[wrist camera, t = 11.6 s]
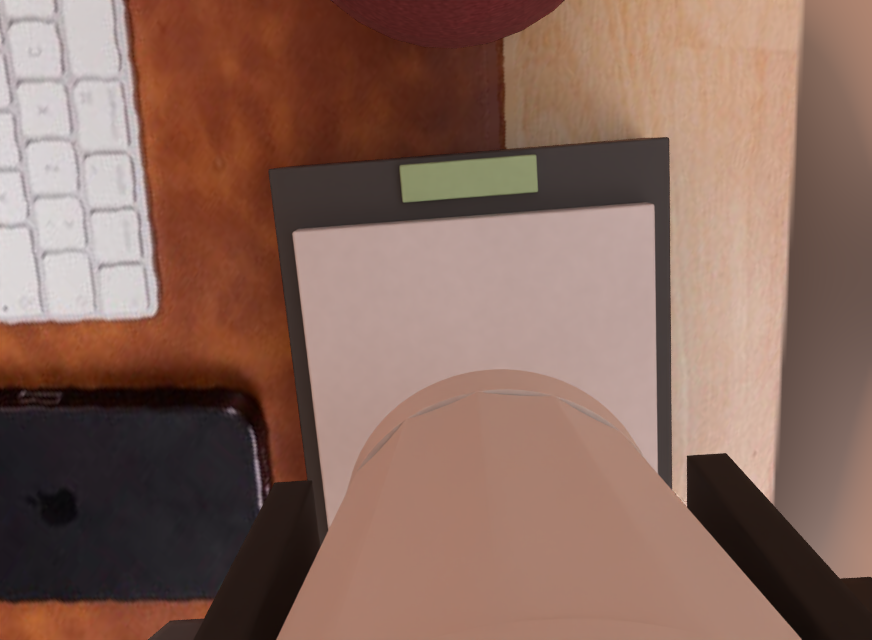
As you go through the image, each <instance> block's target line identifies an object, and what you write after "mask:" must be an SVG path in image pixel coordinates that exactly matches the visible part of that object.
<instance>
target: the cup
mask: <svg viewBox="0 0 872 640" xmlns="http://www.w3.org/2000/svg"><path fill="white" fill-rule="evenodd" d="M276 640H802V639H801V638H800V637H799V636H798V634H797V633H796V632H795V631H794V630H793V629H792V628H791V626H790V625H789V624H788V623H787V622H786V621H785V620H784V618H783V617H782V616H781V615H780V614H779V613H778V611H777V610H776V609H775V608H774V607H773V606H772V605H771V603H770V602H769V601H768V600H767V599H766V598H765V597H764V595H763V594H762V593H761V592H760V591H759V590H758V589H757V587H756V586H755V585H754V584H753V583H752V582H751V580H750V579H749V578H748V577H747V576H746V575H745V574H744V572H743V571H742V570H741V569H740V568H739V567H738V566H737V564H736V563H735V562H734V561H733V560H732V559H731V557H730V556H729V555H728V554H727V553H726V552H725V551H724V549H723V548H722V547H721V546H720V545H719V544H718V543H717V541H716V540H715V539H714V538H713V537H712V536H711V534H710V533H709V532H708V531H707V530H706V529H705V528H704V526H703V525H702V524H701V523H700V522H699V521H698V520H697V518H696V517H695V516H694V515H693V514H692V513H691V511H690V510H689V509H688V508H687V507H686V506H685V505H684V503H683V502H682V501H681V500H680V499H679V498H678V497H677V495H676V494H675V493H674V492H673V491H672V490H671V489H670V487H669V486H668V485H667V484H666V483H665V482H664V480H663V479H662V478H661V477H660V476H659V475H658V474H657V472H656V471H655V470H654V469H653V468H652V467H651V466H650V464H649V463H648V462H647V460H646V459H645V457H644V456H643V454H642V453H641V451H640V449H639V448H638V446H637V445H636V443H635V441H634V440H633V438H632V437H631V435H630V434H629V432H628V431H627V430H626V428H625V427H624V426H623V425H622V423H621V422H620V421H619V420H618V419H617V418H616V417H615V416H614V415H613V414H612V413H611V412H610V411H609V410H608V409H607V408H606V407H605V406H604V405H602V404H601V403H600V402H599V401H597V400H596V399H595V398H593V397H592V396H590V395H589V394H587V393H585V392H584V391H582V390H580V389H578V388H577V387H575V386H573V385H571V384H568V383H566V382H564V381H561V380H559V379H556V378H553V377H550V376H546V375H543V374H539V373H534V372H528V371H521V370H510V369H493V370H481V371H474V372H469V373H464V374H460V375H456V376H453V377H449V378H447V379H444V380H441V381H439V382H436V383H434V384H432V385H430V386H428V387H425V388H424V389H422V390H420V391H418V392H417V393H415V394H413V395H412V396H410V397H409V398H407V399H406V400H405V401H403V402H402V403H401V404H399V405H398V406H397V407H396V408H395V409H393V410H392V411H391V412H390V413H389V414H388V415H387V416H386V417H385V418H384V419H383V420H382V421H381V423H380V424H379V425H378V426H377V427H376V429H375V430H374V431H373V433H372V434H371V435H370V437H369V438H368V440H367V441H366V443H365V445H364V447H363V448H362V450H361V452H360V454H359V456H358V459H357V461H356V463H355V466H354V469H353V472H352V475H351V479H350V482H349V485H348V489H347V492H346V495H345V497H344V499H343V501H342V503H341V505H340V507H339V509H338V512H337V514H336V516H335V518H334V520H333V522H332V524H331V526H330V528H329V530H328V532H327V535H326V537H325V539H324V541H323V543H322V545H321V547H320V549H319V551H318V553H317V555H316V558H315V560H314V562H313V564H312V566H311V568H310V570H309V572H308V574H307V576H306V578H305V581H304V583H303V585H302V587H301V589H300V591H299V593H298V595H297V597H296V599H295V602H294V604H293V606H292V608H291V610H290V612H289V614H288V616H287V618H286V620H285V622H284V625H283V627H282V629H281V631H280V633H279V635H278V637H277V639H276Z"/></svg>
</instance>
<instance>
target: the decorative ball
mask: <svg viewBox="0 0 872 640" xmlns="http://www.w3.org/2000/svg"><path fill="white" fill-rule="evenodd" d="M331 1H332V2H333V3H335V4H336V5H337V6H338V7H340V8H341V9H342V10H344V11H345V12H346V13H347V14H349V15H350V16H351V17H353V18H354V19H355V20H357V21H358V22H360V23H362V24H364V25H366V26H368V27H370V28H372V29H374V30H376V31H378V32H380V33H382V34H384V35H386V36H388V37H390V38H392V39H396V40H400V41H404V42H407V43H411V44H415V45H419V46H423V47H437V48H462V47H468V46H475V45H481V44H487V43H490V42H493V41H496V40H498V39H501V38H504V37H506V36H509V35H511V34H514V33H517V32H519V31H522V30H524V29H525V28H527V27H528V26H530V25H532V24H533V23H535V22H536V21H538V20H540V19H541V18H543V17H544V16H546V15H548V14H549V13H551V12H552V11H554V10H555V9H556V8H557V7H558V6H559V5H560V4H561V3H562V2H563V1H564V0H331Z"/></svg>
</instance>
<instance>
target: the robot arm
mask: <svg viewBox="0 0 872 640" xmlns="http://www.w3.org/2000/svg"><path fill="white" fill-rule="evenodd" d="M687 508H688V509H689V510H690V511H691V513H692V514H693V515H694V516H695V517H696V518H697V520H698V521H699V522H700V523H701V524H702V525H703V526H704V528H705V529H706V530H707V531H708V532H709V533H710V534H711V536H712V537H713V538H714V539H715V540H716V541H717V543H718V544H719V545H720V546H721V547H722V548H723V549H724V551H725V552H726V553H727V554H728V555H729V556H730V557H731V559H732V560H733V561H734V562H735V563H736V564H737V566H738V567H739V568H740V569H741V570H742V571H743V572H744V574H745V575H746V576H747V577H748V578H749V579H750V580H751V582H752V583H753V584H754V585H755V586H756V587H757V589H758V590H759V591H760V592H761V593H762V594H763V595H764V597H765V598H766V599H767V600H768V601H769V602H770V603H771V605H772V606H773V607H774V608H775V609H776V610H777V611H778V613H779V614H780V615H781V616H782V617H783V618H784V620H785V621H786V622H787V623H788V624H789V625H790V626H791V628H792V629H793V630H794V631H795V632H796V633H797V634H798V636H799V637H800V638H801V639H802V640H872V578H871V577H861V578H843V579H840V578H839V577H838V576H837V575H836V574H835V573H834V572H833V571H832V570H831V569H830V567H829V566H828V565H827V564H826V563H825V562H824V561H823V560H822V559H821V557H820V556H819V555H818V554H817V553H816V552H815V551H814V550H813V549H812V547H811V546H810V545H809V544H808V543H807V542H806V541H805V540H804V539H803V538H802V536H801V535H800V534H799V533H798V532H797V531H796V530H795V529H794V528H793V527H792V525H791V524H790V523H789V522H788V521H787V520H786V519H785V518H784V517H783V515H782V514H781V513H780V512H779V511H778V510H777V509H776V508H775V507H774V506H773V504H772V503H771V502H770V501H769V500H768V499H767V498H766V497H765V496H764V494H763V493H762V492H761V491H760V490H759V489H758V488H757V487H756V486H755V485H754V483H753V482H752V481H751V480H750V479H749V478H748V477H747V476H746V475H745V474H744V472H743V471H742V470H741V469H740V468H739V467H738V466H737V465H736V464H735V462H734V461H733V460H732V459H731V458H730V457H729V456H728V455H727V454H726V453H723V454H707V455H692V456H687ZM319 549H320V539H319V531H318V523H317V515H316V507H315V499H314V491H313V482H312V480H308V481H292V482H277V483H274V485H273V487H272V489H271V490H270V492H269V494H268V496H267V498H266V500H265V502H264V504H263V506H262V508H261V510H260V512H259V514H258V516H257V518H256V519H255V521H254V523H253V525H252V527H251V529H250V531H249V533H248V535H247V537H246V539H245V541H244V543H243V545H242V547H241V548H240V550H239V552H238V554H237V556H236V558H235V560H234V562H233V564H232V566H231V568H230V570H229V572H228V574H227V576H226V577H225V579H224V581H223V583H222V585H221V587H220V589H219V591H218V593H217V595H216V597H215V599H214V601H213V603H212V605H211V606H210V608H209V610H208V612H207V614H206V616H205V618H204V619H191V620H174V621H169V622H168V623H167V624H166V625H165V626H163V627H162V628H161V629H160V630H159V631H158V632H156V633H155V634H154V635H153V636H152V637H150V638H149V639H148V640H276V639H277V637H278V635H279V633H280V631H281V629H282V627H283V625H284V622H285V620H286V618H287V616H288V614H289V612H290V610H291V608H292V606H293V604H294V602H295V599H296V597H297V595H298V593H299V591H300V589H301V587H302V585H303V583H304V581H305V578H306V576H307V574H308V572H309V570H310V568H311V566H312V564H313V562H314V560H315V558H316V555H317V553H318V551H319Z"/></svg>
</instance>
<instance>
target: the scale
mask: <svg viewBox="0 0 872 640" xmlns="http://www.w3.org/2000/svg"><path fill="white" fill-rule="evenodd" d="M269 179H270V187H271V195H272V203H273V211H274V219H275V227H276V235H277V243H278V251H279V258H280V266H281V274H282V282H283V290H284V298H285V306H286V314H287V322H288V330H289V338H290V346H291V354H292V362H293V369H294V377H295V385H296V393H297V401H298V409H299V417H300V425H301V433H302V441H303V449H304V457H305V465H306V473H307V481H308V480H312V482H313V491H314V499H315V507H316V515H317V523H318V531H319V539H320V547H321V545H322V543H323V541H324V539H325V537H326V535H327V532H328V530H329V528H330V526H331V524H332V522H333V520H334V518H335V516H336V514H337V512H338V509H339V507H340V505H341V503H342V501H343V499H344V497H345V495H346V492H347V489H348V485H349V482H350V479H351V475H352V472H353V469H354V466H355V463H356V461H357V459H358V456H359V454H360V452H361V450H362V448H363V447H364V445H365V443H366V441H367V440H368V438H369V437H370V435H371V434H372V433H373V431H374V430H375V429H376V427H377V426H378V425H379V424H380V423H381V421H382V420H383V419H384V418H385V417H386V416H387V415H388V414H389V413H390V412H391V411H392V410H393V409H395V408H396V407H397V406H398V405H399V404H401V403H402V402H403V401H405V400H406V399H407V398H409V397H410V396H412V395H413V394H415V393H417V392H418V391H420V390H422V389H424V388H425V387H428V386H430V385H432V384H434V383H436V382H439V381H441V380H444V379H447V378H449V377H453V376H456V375H460V374H464V373H469V372H474V371H481V370H493V369H510V370H521V371H528V372H534V373H539V374H543V375H546V376H550V377H553V378H556V379H559V380H561V381H564V382H566V383H568V384H571V385H573V386H575V387H577V388H578V389H580V390H582V391H584V392H585V393H587V394H589V395H590V396H592V397H593V398H595V399H596V400H597V401H599V402H600V403H601V404H602V405H604V406H605V407H606V408H607V409H608V410H609V411H610V412H611V413H612V414H613V415H614V416H615V417H616V418H617V419H618V420H619V421H620V422H621V423H622V425H623V426H624V427H625V428H626V430H627V431H628V432H629V434H630V435H631V437H632V438H633V440H634V441H635V443H636V445H637V446H638V448H639V449H640V451H641V453H642V454H643V456H644V457H645V459H646V460H647V462H648V463H649V464H650V466H651V467H652V468H653V469H654V470H655V471H656V472H657V474H658V475H659V476H660V477H661V478H662V479H663V480H664V482H665V483H666V484H667V485H668V486H669V487H670V489H671V490H672V430H671V303H670V177H669V138H668V137H662V138H640V139H628V140H615V141H603V142H590V143H578V144H565V145H553V146H540V147H528V148H515V149H502V150H490V151H477V152H465V153H452V154H440V155H427V156H415V157H402V158H390V159H377V160H365V161H352V162H340V163H327V164H315V165H302V166H290V167H282V168H274V169H269Z"/></svg>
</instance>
